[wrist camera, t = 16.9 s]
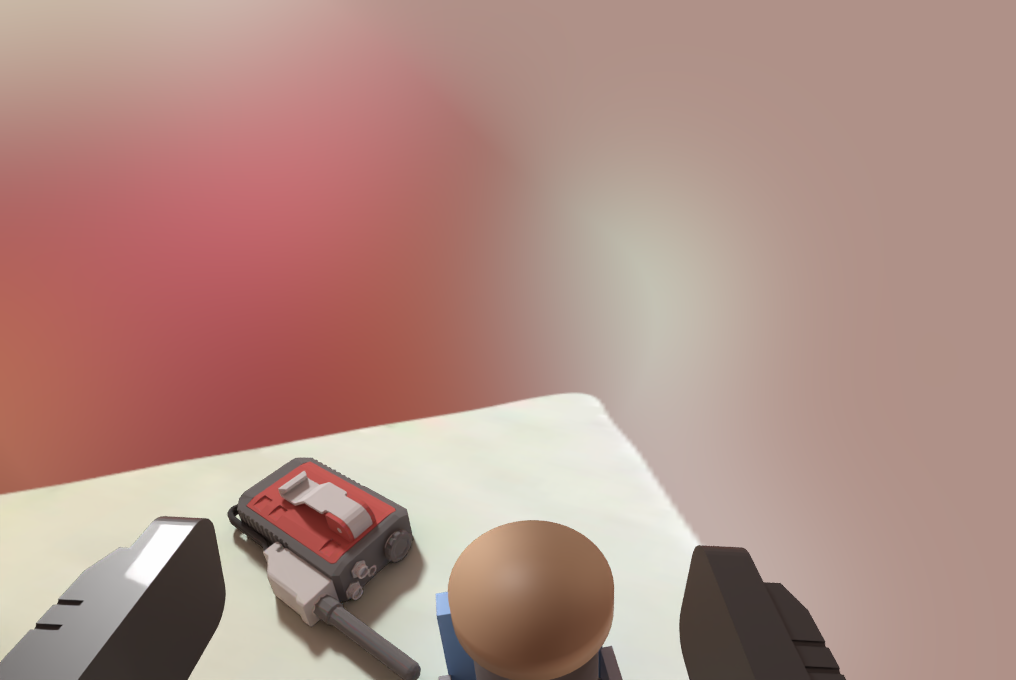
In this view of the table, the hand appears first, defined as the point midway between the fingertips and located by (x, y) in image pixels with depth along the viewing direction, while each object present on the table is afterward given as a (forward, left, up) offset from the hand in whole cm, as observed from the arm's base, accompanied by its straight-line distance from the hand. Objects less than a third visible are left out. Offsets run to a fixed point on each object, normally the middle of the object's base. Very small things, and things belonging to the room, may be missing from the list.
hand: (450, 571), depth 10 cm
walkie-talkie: (-9, +22, -23) cm, 33 cm away
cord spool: (+2, +7, -23) cm, 24 cm away
